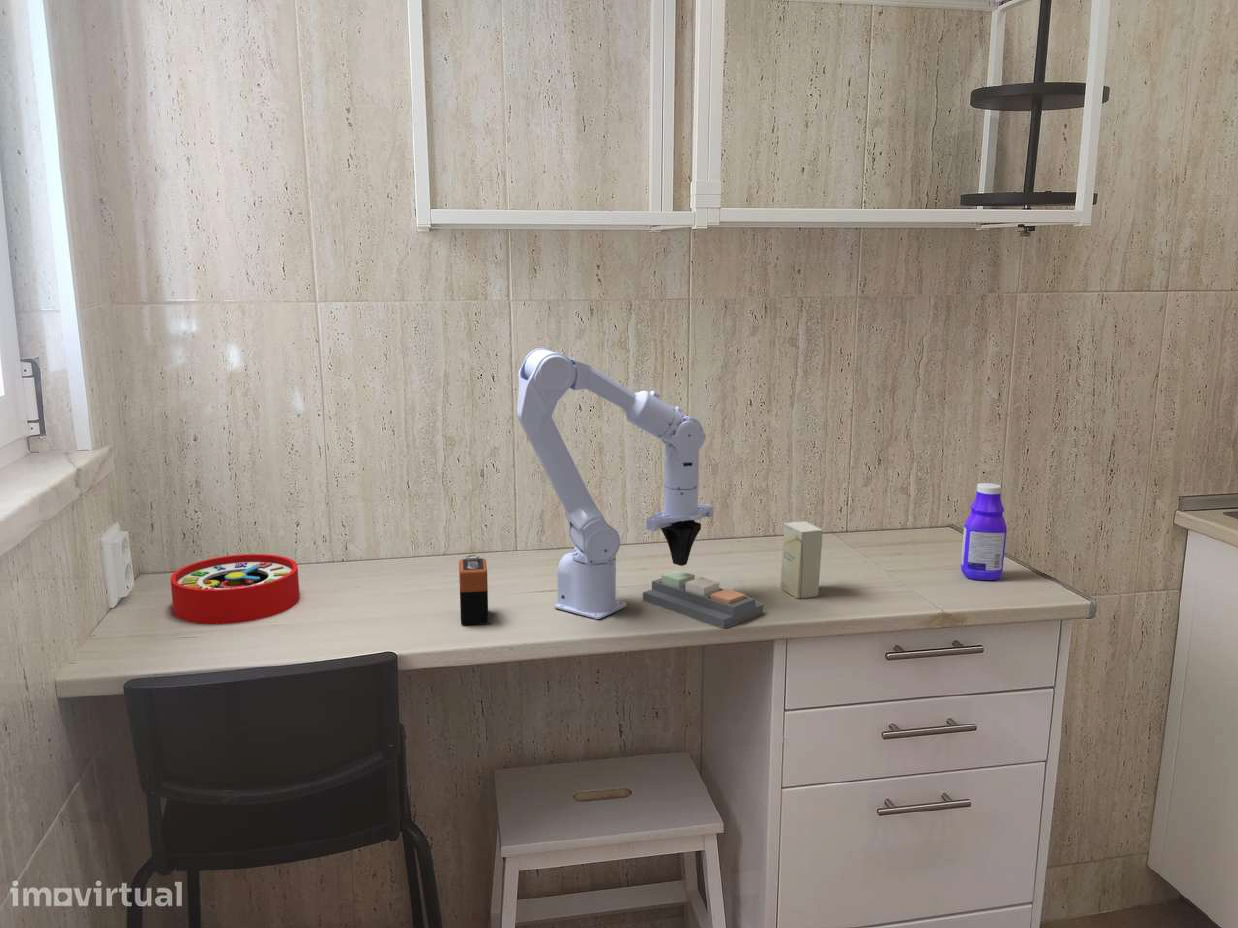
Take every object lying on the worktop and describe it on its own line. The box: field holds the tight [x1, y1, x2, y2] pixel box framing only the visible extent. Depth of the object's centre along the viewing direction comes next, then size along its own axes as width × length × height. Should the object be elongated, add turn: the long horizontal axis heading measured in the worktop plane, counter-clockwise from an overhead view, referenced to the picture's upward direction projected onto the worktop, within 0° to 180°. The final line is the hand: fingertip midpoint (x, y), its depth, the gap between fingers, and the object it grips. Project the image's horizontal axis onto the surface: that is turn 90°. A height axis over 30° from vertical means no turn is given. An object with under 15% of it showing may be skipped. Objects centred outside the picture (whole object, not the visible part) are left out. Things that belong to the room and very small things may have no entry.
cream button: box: [685, 576, 720, 596], centre depth 165 cm, size 4×4×2 cm
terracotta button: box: [710, 588, 746, 605], centre depth 161 cm, size 4×4×2 cm
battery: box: [458, 554, 489, 626], centre depth 159 cm, size 4×7×10 cm, turn 10°
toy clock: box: [170, 553, 301, 625], centre depth 166 cm, size 20×6×20 cm
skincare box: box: [780, 520, 824, 600], centre depth 172 cm, size 6×4×12 cm
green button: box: [661, 569, 696, 588], centre depth 169 cm, size 4×4×2 cm
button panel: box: [642, 577, 764, 629], centre depth 165 cm, size 18×10×3 cm, turn 44°
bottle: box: [960, 482, 1008, 581], centre depth 180 cm, size 7×6×17 cm
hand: (679, 563), depth 168 cm, fingers closed
